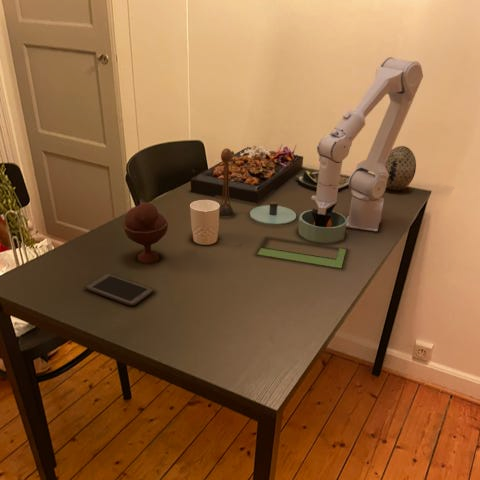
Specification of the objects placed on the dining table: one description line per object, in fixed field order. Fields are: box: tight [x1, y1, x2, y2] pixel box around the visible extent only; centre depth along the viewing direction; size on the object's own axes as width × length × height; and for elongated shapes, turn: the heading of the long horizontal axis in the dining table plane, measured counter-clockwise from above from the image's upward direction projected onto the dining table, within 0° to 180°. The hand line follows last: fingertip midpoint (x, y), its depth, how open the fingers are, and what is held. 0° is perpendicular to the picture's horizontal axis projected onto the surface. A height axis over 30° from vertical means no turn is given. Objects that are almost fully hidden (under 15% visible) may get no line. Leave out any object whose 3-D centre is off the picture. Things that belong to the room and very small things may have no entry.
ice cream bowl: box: [122, 201, 169, 264], centre depth 116 cm, size 11×11×15 cm
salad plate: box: [294, 170, 349, 192], centre depth 171 cm, size 19×18×5 cm
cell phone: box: [85, 273, 153, 307], centre depth 107 cm, size 7×14×1 cm, turn 61°
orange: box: [313, 220, 332, 227], centre depth 134 cm, size 5×5×5 cm
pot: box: [297, 209, 347, 244], centre depth 134 cm, size 13×13×5 cm
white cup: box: [189, 199, 221, 246], centre depth 127 cm, size 8×8×10 cm
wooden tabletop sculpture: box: [219, 147, 235, 217], centre depth 140 cm, size 6×5×20 cm
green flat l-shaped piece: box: [256, 246, 347, 270], centre depth 125 cm, size 22×11×1 cm, turn 73°
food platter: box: [190, 143, 304, 204], centre depth 170 cm, size 45×25×10 cm, turn 155°
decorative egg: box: [385, 145, 417, 192], centre depth 164 cm, size 12×12×15 cm
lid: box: [249, 200, 297, 226], centre depth 143 cm, size 14×14×5 cm
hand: (321, 229), depth 135 cm, fingers open, 7 cm apart
